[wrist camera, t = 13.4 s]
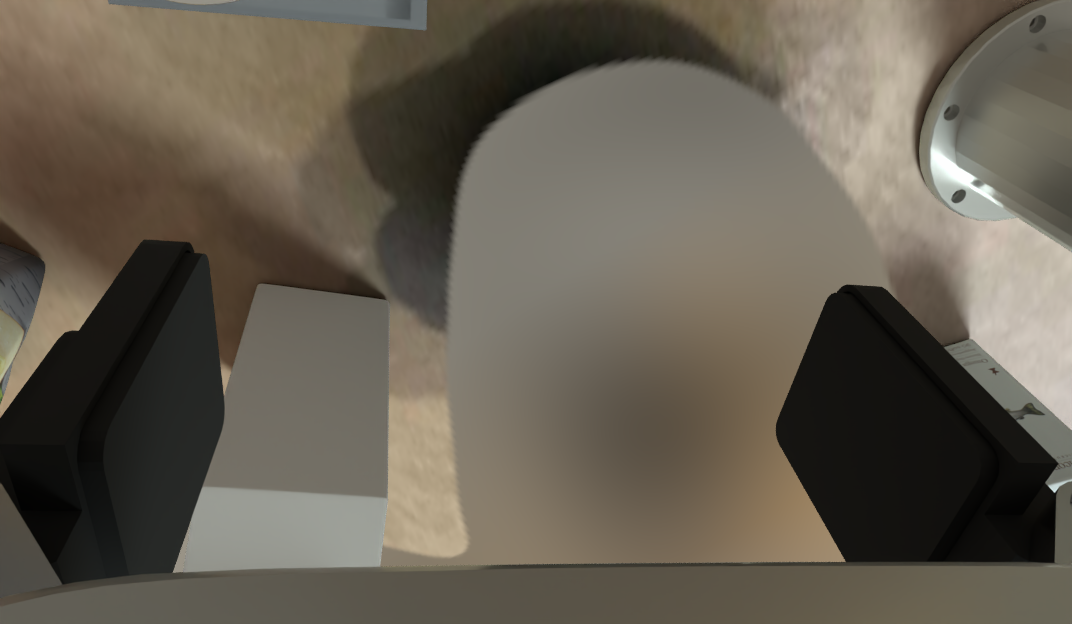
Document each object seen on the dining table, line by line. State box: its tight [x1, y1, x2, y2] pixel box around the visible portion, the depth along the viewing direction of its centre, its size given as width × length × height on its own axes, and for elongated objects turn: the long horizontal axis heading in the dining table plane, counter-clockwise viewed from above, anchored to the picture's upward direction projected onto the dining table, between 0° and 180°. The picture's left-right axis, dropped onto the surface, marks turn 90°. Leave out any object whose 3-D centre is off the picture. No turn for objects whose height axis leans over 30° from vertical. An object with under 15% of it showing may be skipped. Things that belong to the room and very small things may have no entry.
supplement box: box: [944, 339, 1072, 493], centre depth 47 cm, size 7×7×13 cm
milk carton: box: [183, 284, 390, 572], centre depth 35 cm, size 7×7×19 cm
